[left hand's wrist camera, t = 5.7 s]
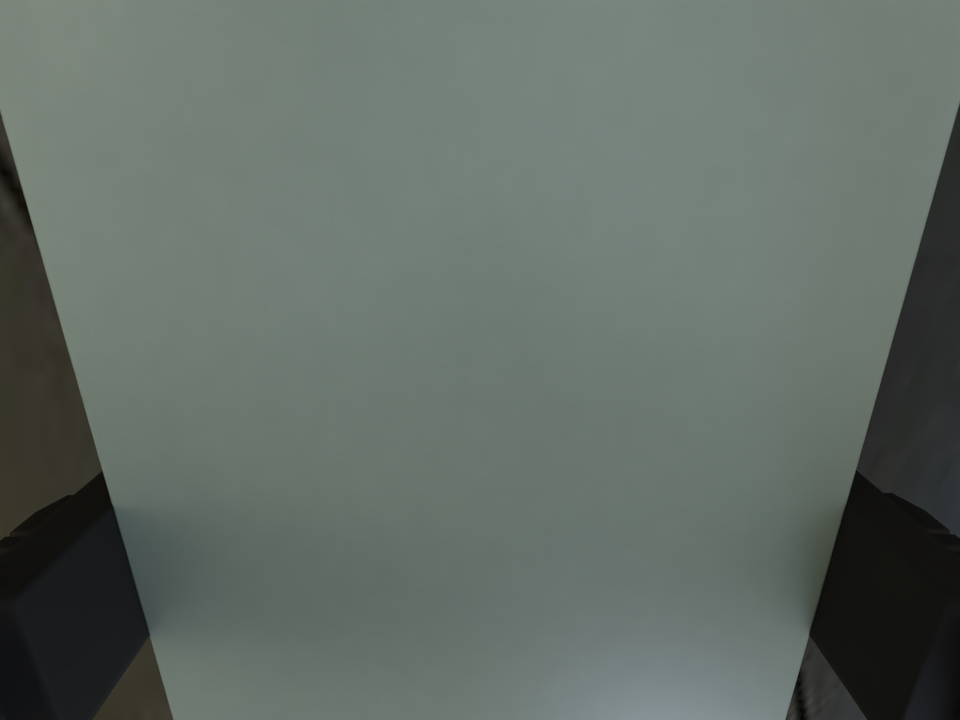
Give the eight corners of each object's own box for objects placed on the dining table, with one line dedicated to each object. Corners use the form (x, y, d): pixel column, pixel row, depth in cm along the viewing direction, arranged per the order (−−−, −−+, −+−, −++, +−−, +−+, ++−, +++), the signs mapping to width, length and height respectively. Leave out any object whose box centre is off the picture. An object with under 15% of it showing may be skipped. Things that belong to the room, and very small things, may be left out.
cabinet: (255, -165, 14) (-317, -991, 4) (701, -165, 14) (1271, -986, 4) (325, 441, 20) (173, 725, 10) (632, 440, 20) (785, 723, 10)
